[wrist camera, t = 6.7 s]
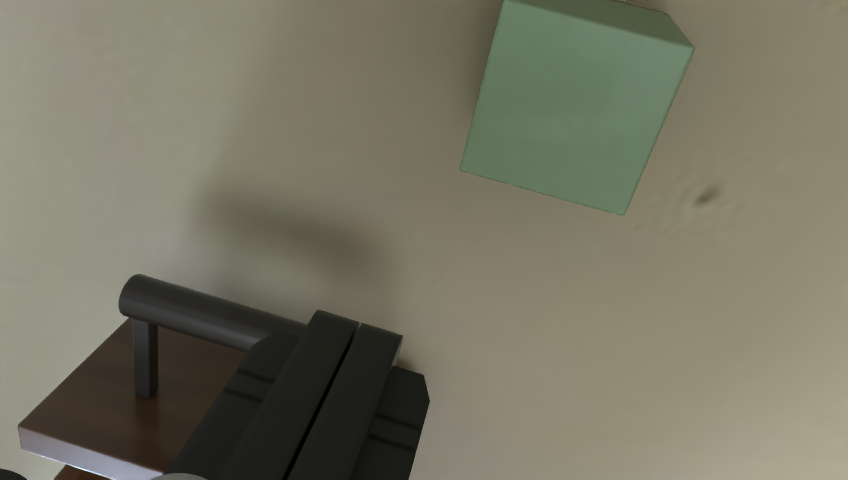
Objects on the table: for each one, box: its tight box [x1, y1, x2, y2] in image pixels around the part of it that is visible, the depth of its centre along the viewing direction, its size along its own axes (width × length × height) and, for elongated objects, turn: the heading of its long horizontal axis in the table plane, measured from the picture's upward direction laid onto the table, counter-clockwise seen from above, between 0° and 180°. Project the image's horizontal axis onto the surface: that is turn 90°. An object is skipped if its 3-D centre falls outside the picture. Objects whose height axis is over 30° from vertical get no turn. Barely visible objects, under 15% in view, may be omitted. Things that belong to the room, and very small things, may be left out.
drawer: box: [18, 274, 307, 480], centre depth 25 cm, size 18×12×7 cm, turn 168°
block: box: [460, 0, 695, 216], centre depth 18 cm, size 5×5×5 cm
